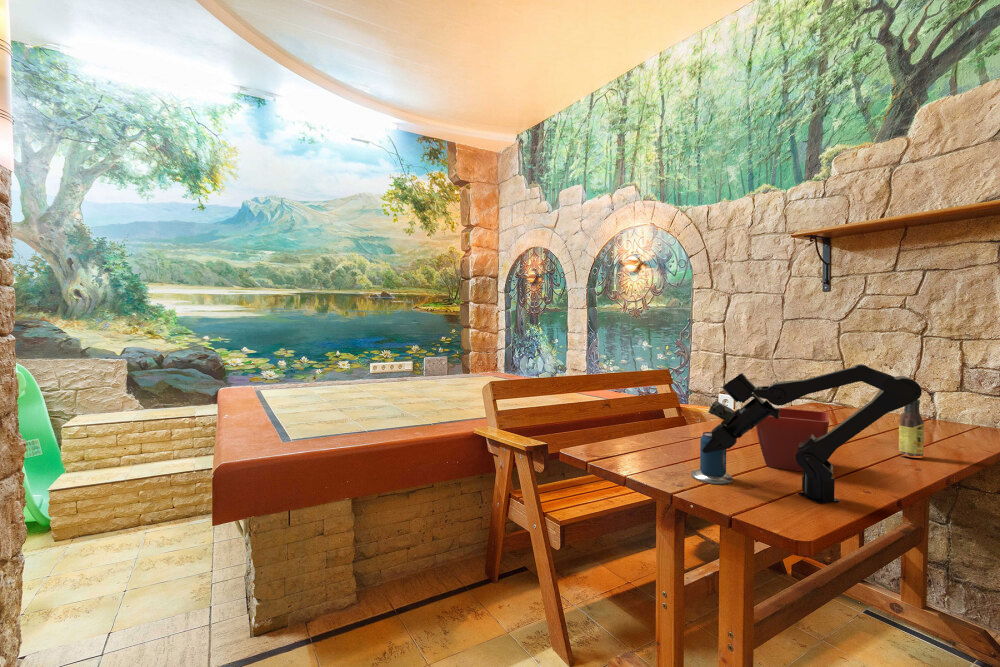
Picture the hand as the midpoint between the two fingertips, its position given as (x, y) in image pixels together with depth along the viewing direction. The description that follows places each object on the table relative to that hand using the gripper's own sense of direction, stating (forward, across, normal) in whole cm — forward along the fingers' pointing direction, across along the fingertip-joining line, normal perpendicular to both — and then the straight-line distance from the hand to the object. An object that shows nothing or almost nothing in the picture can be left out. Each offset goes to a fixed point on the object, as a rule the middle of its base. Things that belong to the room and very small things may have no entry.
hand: (706, 448), depth 131 cm
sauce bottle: (-30, -64, +42) cm, 83 cm away
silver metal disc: (+5, 0, +7) cm, 9 cm away
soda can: (+4, 0, +7) cm, 8 cm away
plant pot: (-7, -29, +20) cm, 35 cm away
